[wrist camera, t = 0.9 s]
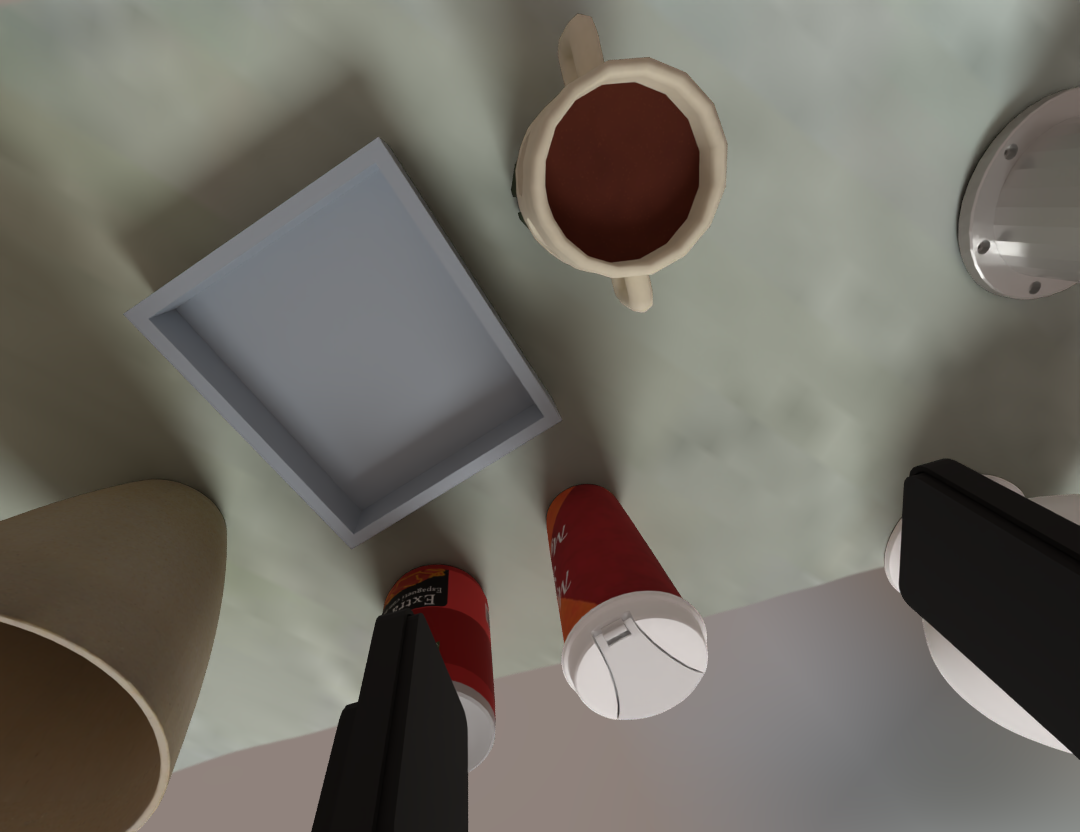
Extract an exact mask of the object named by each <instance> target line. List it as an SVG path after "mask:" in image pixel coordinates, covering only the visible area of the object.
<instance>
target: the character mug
mask: <svg viewBox="0 0 1080 832" xmlns="http://www.w3.org/2000/svg"><path fill="white" fill-rule="evenodd" d="M558 58H559V64H560V68H561V72H562V76H563V80H564V84H565V87H564V89H563V90H562V91H561V92H560V93H559V94H558V95H557V96H556V97H555V98H554V99H553V100H552V101H551V102H550V103H549V104H548V105H547V106H546V107H545V108H544V109H543V110H542V111H541V112H540V114H539V115H538V116H537V117H536V118H535V120H534V121H533V122H532V123H531V125H530V126H529V127H528V129H527V131H526V134H525V136H524V139H523V141H522V144H521V147H520V151H519V156H518V160H517V162H516V164H515V168H514V174H513V181H512V188H511V191H512V195H513V197H517V199H518V204H519V208H520V211H521V212H519V213H518V215H519V218H520V220H521V221H522V222H523V223H524V224H525V225H526V226H527V228H528V229H529V230H530V231H531V233H532V234H533V236H534V238H535V239H536V240H537V241H538V242H539V243H540V244H541V245H542V246H543V247H544V248H545V249H546V250H547V251H548V252H549V253H550V254H552V255H553V256H555V257H556V258H558V259H559V260H561V261H562V262H564V263H566V264H569V265H571V266H572V267H574V268H575V269H578V270H582V271H586V272H592V273H597V274H600V275H604V276H607V277H610V278H611V279H612V284H613V288H614V291H615V294H616V296H617V298H618V299H619V300H620V302H621V303H622V304H623V305H625V306H626V307H628V308H630V309H631V310H633V311H635V312H646V311H647V310H648V309H649V308H650V307H651V306H652V305H653V292H652V286H651V282H650V277H649V275H651V274H654V273H656V272H657V271H659V270H661V269H663V268H665V267H666V266H668V265H670V264H672V263H673V262H675V261H677V260H679V259H680V258H682V257H684V256H685V255H686V254H687V253H688V252H689V250H690V249H691V248H692V247H693V246H694V245H695V243H696V242H697V241H698V240H699V239H700V237H701V236H702V235H703V234H704V233H705V231H706V230H707V229H708V228H709V227H710V226H711V223H712V220H713V218H714V215H715V213H716V210H717V208H718V205H719V203H720V200H721V197H722V195H723V192H724V190H725V187H726V169H727V145H728V144H727V141H726V138H725V135H724V132H723V129H722V126H721V123H720V120H719V117H718V114H717V111H716V108H715V105H714V103H713V102H712V101H711V100H710V99H709V98H708V96H707V95H706V94H705V93H704V92H703V91H702V90H701V89H700V87H699V86H698V85H697V84H696V83H695V82H694V81H693V80H692V79H691V77H690V76H689V75H688V74H687V73H686V72H683V71H681V70H679V69H676V68H674V67H671V66H669V65H667V64H664V63H662V62H659V61H657V60H655V59H652V58H650V57H644V58H632V59H619V60H608V61H606V62H604V59H603V55H602V50H601V45H600V40H599V36H598V33H597V29H596V27H595V24H594V22H593V20H592V17H590V16H586V15H582V14H577V15H576V16H575V17H574V18H573V19H572V20H571V21H570V22H569V23H568V24H567V26H566V28H565V30H564V31H563V33H562V35H561V37H560V38H559V45H558Z"/></svg>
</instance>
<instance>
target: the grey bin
mask: <svg viewBox="0 0 1080 832" xmlns="http://www.w3.org/2000/svg"><path fill="white" fill-rule="evenodd" d="M123 315H124V316H125V317H126V318H127V319H128V320H129V321H130V322H131V323H132V324H133V325H134V326H135V327H136V328H137V329H138V330H139V331H140V332H141V333H142V334H143V335H144V336H145V337H146V338H147V339H148V340H149V341H150V342H151V343H152V344H153V345H154V347H155V348H156V349H157V350H158V351H159V352H160V353H161V354H162V355H163V356H164V357H165V358H166V359H167V360H168V361H169V362H170V363H171V364H172V365H173V366H174V367H175V368H176V369H177V370H178V371H179V372H180V373H181V374H182V375H183V376H184V377H185V378H186V379H187V380H188V382H189V383H190V384H191V385H192V386H193V387H194V388H195V389H196V390H197V391H198V392H199V393H200V394H201V395H202V396H203V397H204V398H205V399H206V400H207V401H208V402H209V403H210V404H211V405H212V406H213V407H214V408H215V409H216V410H217V411H218V412H219V413H220V414H221V415H222V417H223V418H224V419H225V420H226V421H227V422H228V423H229V424H230V425H231V426H232V427H233V428H234V429H235V430H236V431H237V432H238V433H239V434H240V435H241V436H242V437H243V438H244V439H245V440H246V441H247V442H248V443H249V444H250V445H251V446H252V447H253V448H254V449H255V450H256V451H257V453H258V454H259V455H260V456H261V457H262V458H263V459H264V460H265V461H266V462H267V463H268V464H269V465H270V466H271V467H272V468H273V469H274V470H275V471H276V472H277V473H278V474H279V475H280V476H281V477H282V478H283V479H284V480H285V481H286V482H287V483H288V484H289V485H290V486H291V488H292V489H293V490H294V491H295V492H296V493H297V494H298V495H299V496H300V497H301V498H302V499H303V500H304V501H305V502H306V503H307V504H308V505H309V506H310V507H311V508H312V509H313V510H314V511H315V512H316V513H317V514H318V515H319V516H320V517H321V518H322V519H323V520H324V521H325V523H326V524H327V525H328V526H329V527H330V528H331V529H332V530H333V531H334V532H335V533H336V534H337V535H338V536H339V537H340V538H341V539H342V540H343V541H344V542H345V543H346V544H347V545H348V546H349V547H350V548H351V549H353V548H355V547H356V546H358V545H360V544H361V543H363V542H364V541H366V540H368V539H369V538H371V537H373V536H374V535H376V534H378V533H379V532H381V531H382V530H384V529H386V528H387V527H389V526H391V525H392V524H394V523H395V522H397V521H399V520H400V519H402V518H404V517H405V516H407V515H408V514H410V513H412V512H413V511H415V510H417V509H418V508H420V507H422V506H423V505H425V504H426V503H428V502H430V501H431V500H433V499H435V498H436V497H438V496H439V495H441V494H443V493H444V492H446V491H448V490H449V489H451V488H452V487H454V486H456V485H457V484H459V483H461V482H462V481H464V480H466V479H467V478H469V477H470V476H472V475H474V474H475V473H477V472H479V471H480V470H482V469H483V468H485V467H487V466H488V465H490V464H492V463H493V462H495V461H496V460H498V459H500V458H501V457H503V456H505V455H506V454H508V453H510V452H511V451H513V450H514V449H516V448H518V447H519V446H521V445H523V444H524V443H526V442H527V441H529V440H531V439H532V438H534V437H536V436H537V435H539V434H540V433H542V432H544V431H545V430H547V429H549V428H550V427H552V426H554V425H555V424H557V423H558V422H560V421H562V418H561V416H560V414H559V412H558V410H557V407H556V405H555V403H554V401H553V399H552V398H551V396H550V395H549V393H548V391H547V390H546V388H545V387H544V385H543V384H542V382H541V381H540V379H539V378H538V376H537V374H536V373H535V371H534V370H533V368H532V367H531V365H530V364H529V362H528V360H527V359H526V357H525V356H524V354H523V353H522V351H521V350H520V348H519V347H518V345H517V343H516V342H515V340H514V339H513V337H512V336H511V334H510V333H509V331H508V330H507V328H506V326H505V325H504V323H503V322H502V320H501V319H500V317H499V316H498V314H497V312H496V311H495V309H494V308H493V306H492V305H491V303H490V302H489V300H488V299H487V297H486V295H485V294H484V292H483V291H482V289H481V288H480V286H479V285H478V283H477V281H476V280H475V278H474V277H473V275H472V274H471V272H470V271H469V269H468V268H467V266H466V264H465V263H464V261H463V260H462V258H461V257H460V255H459V254H458V252H457V251H456V249H455V247H454V246H453V244H452V243H451V241H450V240H449V238H448V237H447V235H446V233H445V232H444V230H443V229H442V227H441V226H440V224H439V223H438V221H437V220H436V218H435V216H434V215H433V213H432V212H431V210H430V209H429V207H428V206H427V204H426V202H425V201H424V199H423V198H422V196H421V195H420V193H419V192H418V190H417V189H416V187H415V185H414V184H413V182H412V181H411V179H410V178H409V176H408V175H407V173H406V172H405V170H404V168H403V167H402V165H401V164H400V162H399V161H398V159H397V158H396V156H395V154H394V153H393V151H392V150H391V148H390V147H389V145H388V144H387V143H385V142H384V141H383V140H382V139H381V138H379V137H377V138H376V139H375V140H373V141H372V142H370V143H369V144H367V145H366V146H364V147H363V148H362V149H360V150H359V151H357V152H356V153H354V154H353V155H351V156H350V157H349V158H347V159H346V160H344V161H343V162H341V163H340V164H338V165H337V166H336V167H334V168H333V169H331V170H330V171H328V172H327V173H326V174H324V175H323V176H321V177H320V178H318V179H317V180H315V181H314V182H313V183H311V184H310V185H308V186H307V187H305V188H304V189H302V190H301V191H300V192H298V193H297V194H295V195H294V196H292V197H291V198H289V199H288V200H287V201H285V202H284V203H282V204H281V205H279V206H278V207H276V208H275V209H274V210H272V211H271V212H269V213H268V214H266V215H265V216H264V217H262V218H261V219H259V220H258V221H256V222H255V223H253V224H252V225H251V226H249V227H248V228H246V229H245V230H243V231H242V232H240V233H239V234H238V235H236V236H235V237H233V238H232V239H230V240H229V241H227V242H226V243H225V244H223V245H222V246H220V247H219V248H217V249H216V250H214V251H213V252H212V253H210V254H209V255H207V256H206V257H204V258H203V259H202V260H200V261H199V262H197V263H196V264H194V265H193V266H191V267H190V268H189V269H187V270H186V271H184V272H183V273H181V274H180V275H178V276H177V277H176V278H174V279H173V280H171V281H170V282H168V283H167V284H165V285H164V286H163V287H161V288H160V289H158V290H157V291H155V292H154V293H152V294H151V295H150V296H148V297H147V298H145V299H144V300H142V301H141V302H140V303H138V304H137V305H135V306H134V307H132V308H131V309H129V310H128V311H127V312H125V313H124V314H123Z"/></svg>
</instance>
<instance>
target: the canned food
mask: <svg viewBox="0 0 1080 832" xmlns="http://www.w3.org/2000/svg"><path fill="white" fill-rule="evenodd" d="M405 608H410V609H411V610H412V611H413V613H414V615H415V614H418V613H422V614H423V615H424V616H425V618H426V621H427V623H428V625H429V628H430V630H431V633H432V635H433V637H434V640H435V642H436V644H437V647H438V649H439V651H440V654H441V656H442V659H443V661H444V663H445V666H446V668H447V670H448V673H449V675H450V677H451V680H452V682H453V685H454V687H455V689H456V692H457V694H458V696H459V699H460V701H461V704H462V706H463V708H464V711H465V715H466V719H467V726H468V772H470V771H472V770H473V769H474V768H475V767H477V766H478V765H479V764H481V762H482V761H483V760H484V759H485V758H486V757H487V756H488V754H489V752H490V750H491V748H492V746H493V743H494V739H495V725H496V724H495V723H496V718H495V697H494V682H493V667H492V653H491V638H490V623H489V608H488V603H487V599H486V597H485V595H484V593H483V591H482V589H481V587H480V585H479V584H478V583H477V581H476V580H475V579H474V578H473V577H472V576H470V575H469V574H468V573H466V572H464V571H462V570H461V569H458V568H455V567H452V566H447V565H427V566H422V567H419V568H416V569H413V570H411V571H410V572H408V573H406V574H405V575H403V576H402V577H401V578H400V579H399V580H398V581H397V582H396V584H395V585H394V586H393V588H392V589H391V590H390V592H389V593H388V596H387V598H386V600H385V604H384V609H383V613H382V615H384V614H388V613H391V612H395V611H398V610H402V609H405Z"/></svg>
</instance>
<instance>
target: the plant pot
mask: <svg viewBox="0 0 1080 832" xmlns="http://www.w3.org/2000/svg"><path fill="white" fill-rule="evenodd" d="M226 557H227V530H226V525H225V521H224V519H223V516H222V514H221V513H220V511H219V510H218V508H217V507H216V506H215V504H214V503H213V502H212V501H211V500H210V499H209V498H207V497H206V496H205V495H203V494H202V493H200V492H199V491H197V490H195V489H193V488H191V487H189V486H187V485H184V484H181V483H178V482H174V481H169V480H160V479H149V480H142V481H137V482H131V483H127V484H122V485H117V486H113V487H109V488H105V489H101V490H97V491H93V492H90V493H86V494H82V495H78V496H75V497H72V498H68V499H65V500H62V501H59V502H55V503H52V504H49V505H46V506H43V507H40V508H37V509H34V510H31V511H28V512H25V513H22V514H19V515H17V516H14V517H11V518H8V519H5V520H2V521H0V832H136V831H137V830H139V829H140V828H141V827H142V826H143V825H144V824H145V822H147V820H148V819H149V818H150V817H151V815H152V814H153V813H154V812H155V810H156V809H157V807H158V806H159V804H160V802H161V800H162V798H163V795H164V793H165V791H166V788H167V785H168V783H169V779H170V777H171V774H172V772H173V769H174V766H175V763H176V760H177V758H178V755H179V752H180V749H181V747H182V744H183V741H184V738H185V735H186V732H187V729H188V726H189V723H190V721H191V718H192V715H193V712H194V709H195V706H196V703H197V700H198V697H199V694H200V690H201V687H202V683H203V680H204V676H205V673H206V669H207V666H208V662H209V659H210V655H211V651H212V647H213V643H214V638H215V634H216V629H217V624H218V620H219V614H220V608H221V603H222V597H223V589H224V582H225V571H226Z"/></svg>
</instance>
